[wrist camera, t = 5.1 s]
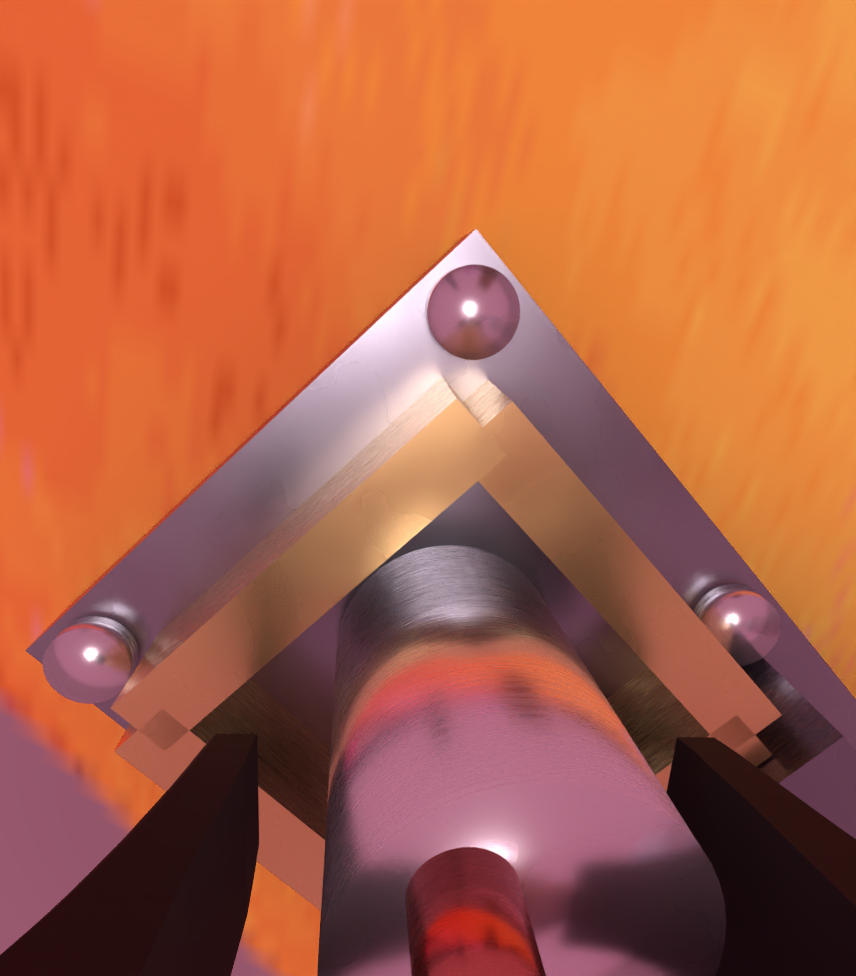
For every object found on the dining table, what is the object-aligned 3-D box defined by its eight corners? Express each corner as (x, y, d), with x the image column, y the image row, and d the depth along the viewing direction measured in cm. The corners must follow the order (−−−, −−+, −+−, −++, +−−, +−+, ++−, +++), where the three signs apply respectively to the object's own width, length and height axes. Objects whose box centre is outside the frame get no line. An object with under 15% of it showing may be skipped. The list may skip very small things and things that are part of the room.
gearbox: (856, 719, 18) (1031, 878, 13) (510, 969, 20) (552, 1190, 15) (463, 236, 14) (506, 210, 9) (69, 605, 15) (-71, 747, 11)
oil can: (591, 659, 14) (903, 1129, 6) (423, 777, 15) (509, 1373, 7) (469, 501, 13) (657, 824, 5) (290, 634, 14) (187, 1142, 5)
